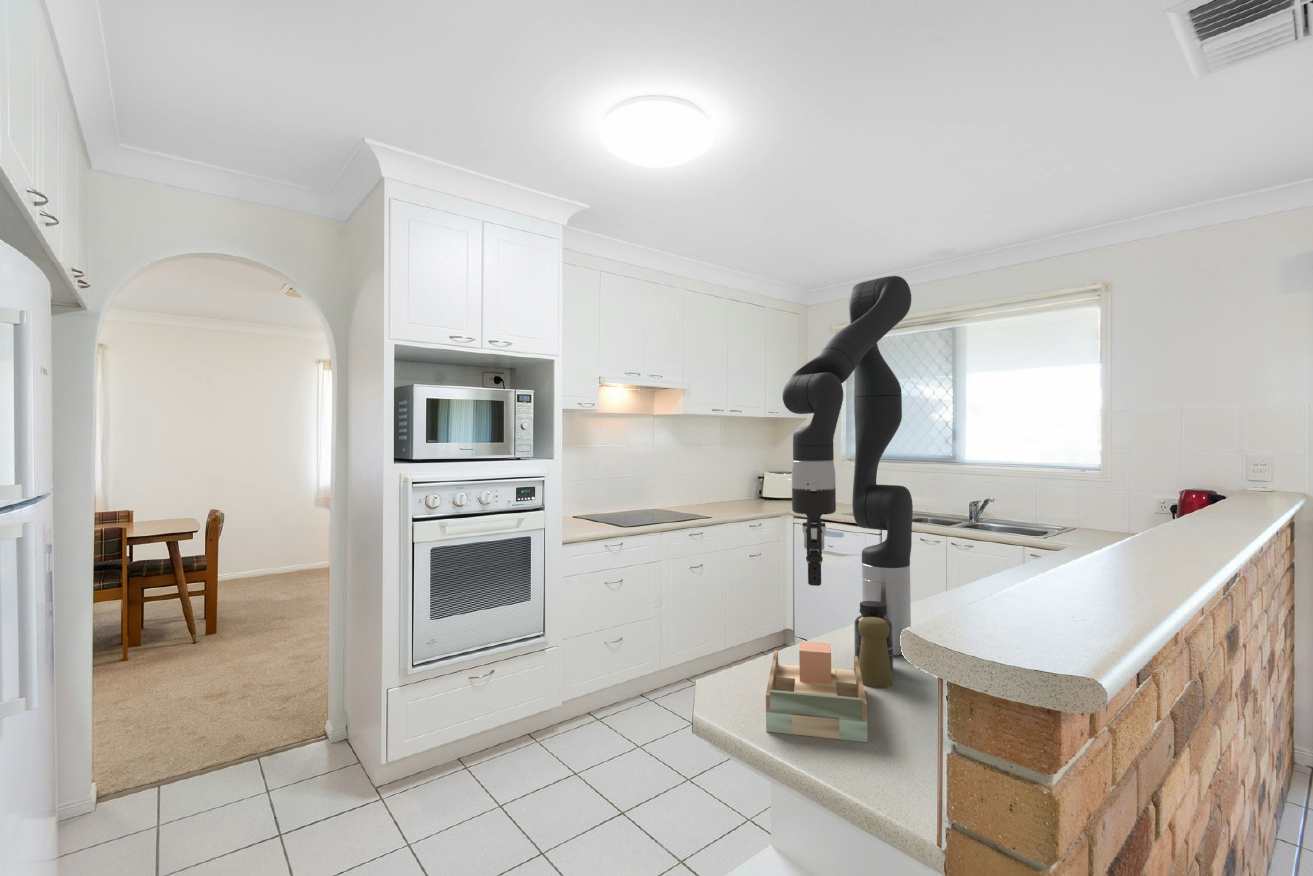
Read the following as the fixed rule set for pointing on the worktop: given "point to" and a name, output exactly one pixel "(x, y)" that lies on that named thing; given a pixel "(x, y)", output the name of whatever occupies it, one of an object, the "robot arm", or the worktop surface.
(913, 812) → the worktop surface
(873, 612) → the supplement bottle
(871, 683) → the cork
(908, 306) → the robot arm
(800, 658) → the block
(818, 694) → the wooden organizer box
